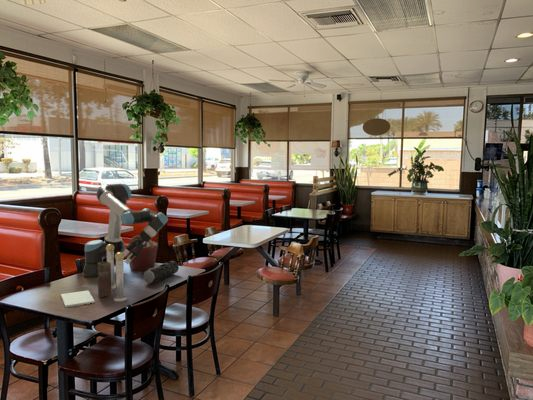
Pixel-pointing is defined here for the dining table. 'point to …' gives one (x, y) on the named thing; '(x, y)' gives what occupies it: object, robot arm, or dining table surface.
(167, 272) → the muzzle brake
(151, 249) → the bucket
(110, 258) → the stanchion posts
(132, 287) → the dining table surface
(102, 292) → the rusty metal cylinder
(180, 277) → the dining table surface
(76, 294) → the sage board
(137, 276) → the dining table surface
